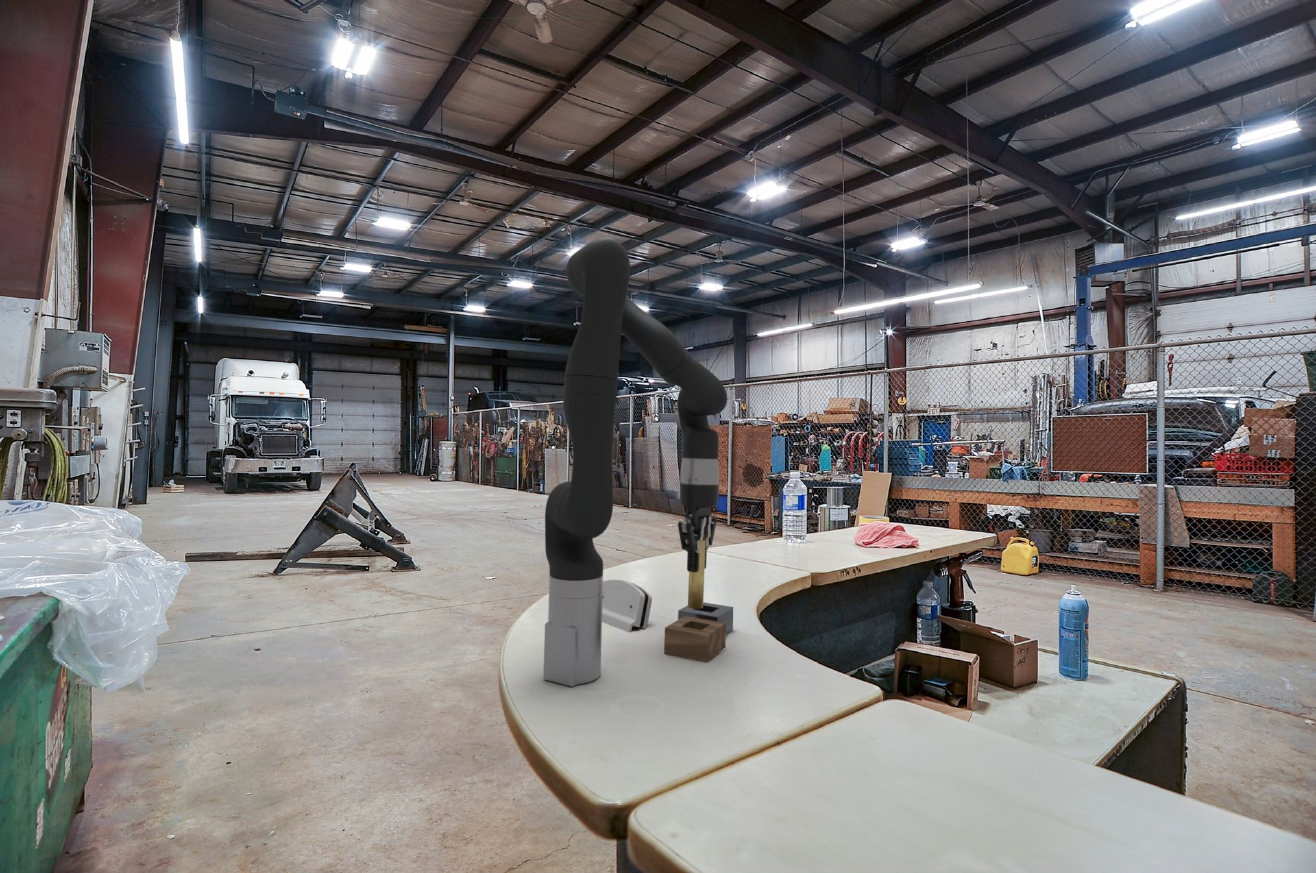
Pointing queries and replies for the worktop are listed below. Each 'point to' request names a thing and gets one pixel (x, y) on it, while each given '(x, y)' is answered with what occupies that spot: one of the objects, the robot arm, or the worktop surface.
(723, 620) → the socket block
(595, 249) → the robot arm
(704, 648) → the mount
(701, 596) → the pin
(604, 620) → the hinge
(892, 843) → the worktop surface
